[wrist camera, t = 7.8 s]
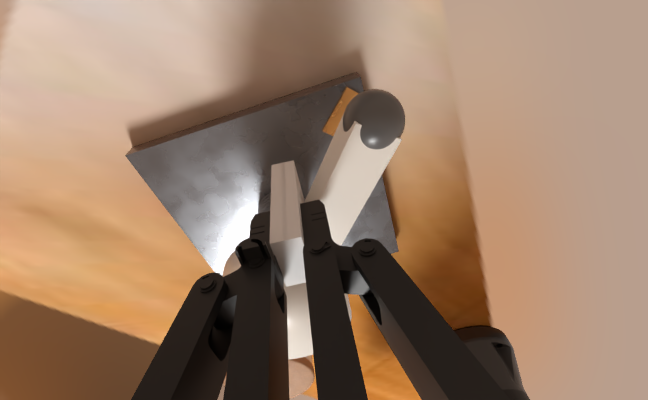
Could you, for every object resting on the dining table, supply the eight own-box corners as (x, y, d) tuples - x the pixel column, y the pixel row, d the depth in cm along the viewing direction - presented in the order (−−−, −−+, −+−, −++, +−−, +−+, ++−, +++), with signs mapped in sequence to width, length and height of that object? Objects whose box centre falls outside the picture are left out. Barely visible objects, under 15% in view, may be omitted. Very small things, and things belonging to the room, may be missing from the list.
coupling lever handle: (317, 319, 28) (321, 365, 24) (212, 304, 25) (201, 353, 22) (448, 110, 18) (485, 140, 14) (294, 46, 15) (297, 66, 12)
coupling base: (394, 242, 37) (424, 312, 29) (236, 287, 39) (224, 365, 31) (356, 71, 25) (388, 114, 18) (132, 147, 27) (72, 216, 19)
